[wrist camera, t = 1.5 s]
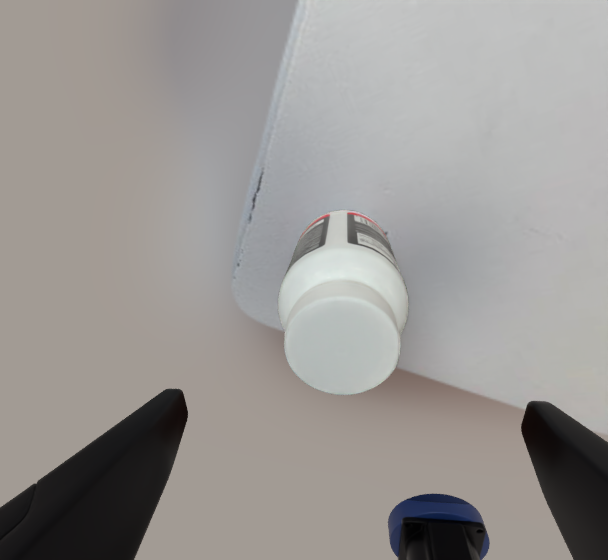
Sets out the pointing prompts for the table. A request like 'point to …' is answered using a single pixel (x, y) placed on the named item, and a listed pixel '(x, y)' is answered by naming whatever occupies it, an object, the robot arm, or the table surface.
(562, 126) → the table surface
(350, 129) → the table surface
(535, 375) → the table surface
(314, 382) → the pill bottle
